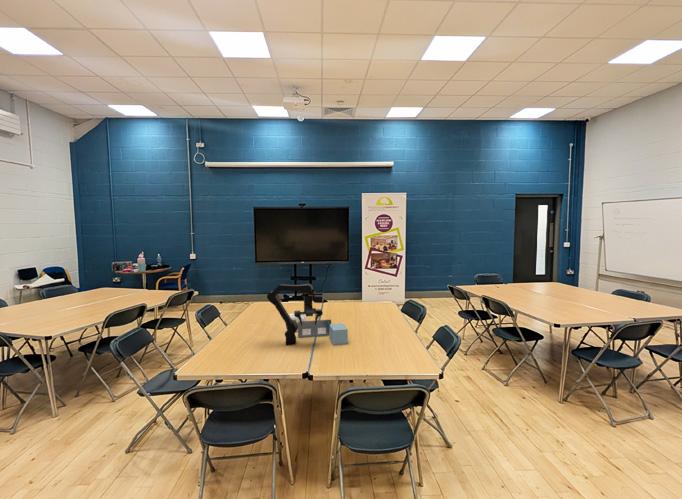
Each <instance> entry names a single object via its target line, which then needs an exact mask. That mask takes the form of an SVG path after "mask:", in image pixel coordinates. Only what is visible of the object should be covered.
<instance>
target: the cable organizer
mask: <svg viewBox="0 0 682 499" xmlns="http://www.w3.org/2000/svg"><path fill="white" fill-rule="evenodd" d="M288 315H289V316H290V318H291V319H292V320H293V321H294V320H296V322H297V323H298V322H300V320H299V318H297V317H295V316H294V313H288ZM307 318H308V317H307V316H306V314H305V315H301V320H302V321H308V319H307ZM285 329H286V331H287V328H286V327H285ZM295 333H298V330H297V331H296V332H295Z"/></svg>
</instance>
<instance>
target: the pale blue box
mask: <svg viewBox="0 0 682 499" xmlns="http://www.w3.org/2000/svg"><path fill="white" fill-rule="evenodd" d="M346 326H347V325H345V323H343V322H342V323H331V324H329V335H328V336H329V340H330V342H331V344H332V346H337V345H348V344H349V343H348V342H349V341H348V337H349V330H348V327H346Z"/></svg>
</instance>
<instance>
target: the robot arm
mask: <svg viewBox="0 0 682 499" xmlns="http://www.w3.org/2000/svg"><path fill="white" fill-rule="evenodd" d="M282 291H283V292H285V291H287V292H300V293H301V295H300V297H303V311H301V310H294V311H293V314H294V316H295V317H297V318H299V320H300V323H301V326H302V320H301V315H306V316H307V318H308V317H313V316H314V321H315V325H316V322H317V320H319V317H321V316H323V314H324V313H323V310H322V309H320V308H319V309H317V308H316V307H314V308H313V303H314V304H323V303H324V301H325V298H324V293H323V292H316V290H315V289H314V286H313V285H312V284H311V283H304V284H285V283H284V284H283V283H281V284H279V285H277V287H275V288H274V289H273V290H271V291H270V292H269V293H267V295H266V299H267V300H268V302H270V303H271V305H274V307H275V308H276V310H277V312H278V314H279V315H280V317H281V318H282V320H283V321H284V323H285V329H286V328H287V330H286V331H285V332H284V336H285V346H295V345H296V344H297V336H296V333H297V332H296V331H297V330H298V323H297V322H296V320H294V321H293V320H292V319H291V318H290V316H289V313H288V312H287V310H286V308H285V306H284V305H283V304H282V302H281V299H280V295H279V294H280V293H281V292H282Z"/></svg>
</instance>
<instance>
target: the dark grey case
mask: <svg viewBox="0 0 682 499" xmlns="http://www.w3.org/2000/svg"><path fill="white" fill-rule="evenodd" d="M329 324H332V319H331V318H329V319H317V322H316V325H315V320H307V321H302V326H301V323H300V322H298V332H297V338H299V339H300V338H315V337H326V336H329Z"/></svg>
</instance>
